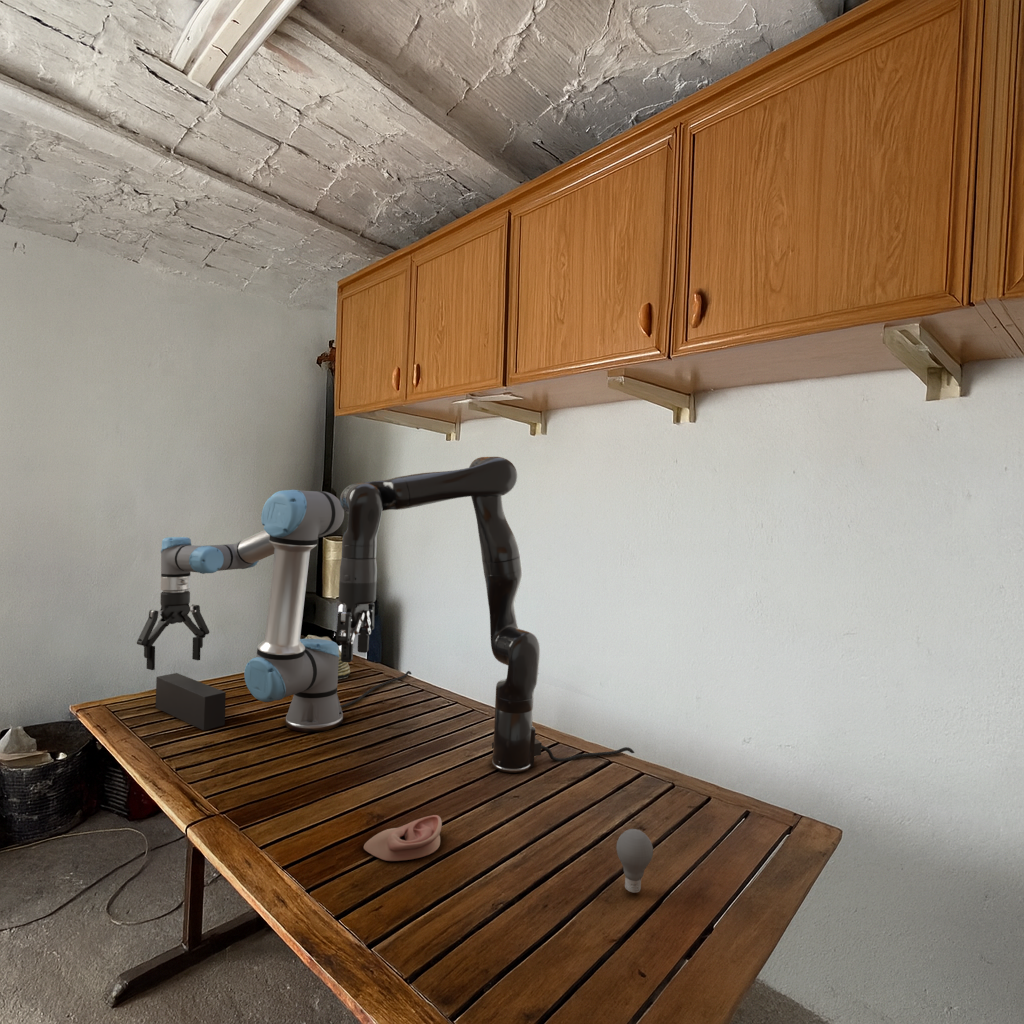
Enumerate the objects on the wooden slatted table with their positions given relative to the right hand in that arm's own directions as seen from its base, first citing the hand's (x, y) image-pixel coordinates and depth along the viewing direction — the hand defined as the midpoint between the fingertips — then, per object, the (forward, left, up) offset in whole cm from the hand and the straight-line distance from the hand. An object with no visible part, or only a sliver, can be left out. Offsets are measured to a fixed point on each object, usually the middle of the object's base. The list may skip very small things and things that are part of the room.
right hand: (355, 656), depth 132 cm
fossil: (-11, -91, -30) cm, 96 cm away
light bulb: (-36, +49, -30) cm, 68 cm away
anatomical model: (-5, +21, -30) cm, 37 cm away
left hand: (+34, -74, -18) cm, 84 cm away
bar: (+30, -66, -30) cm, 78 cm away
